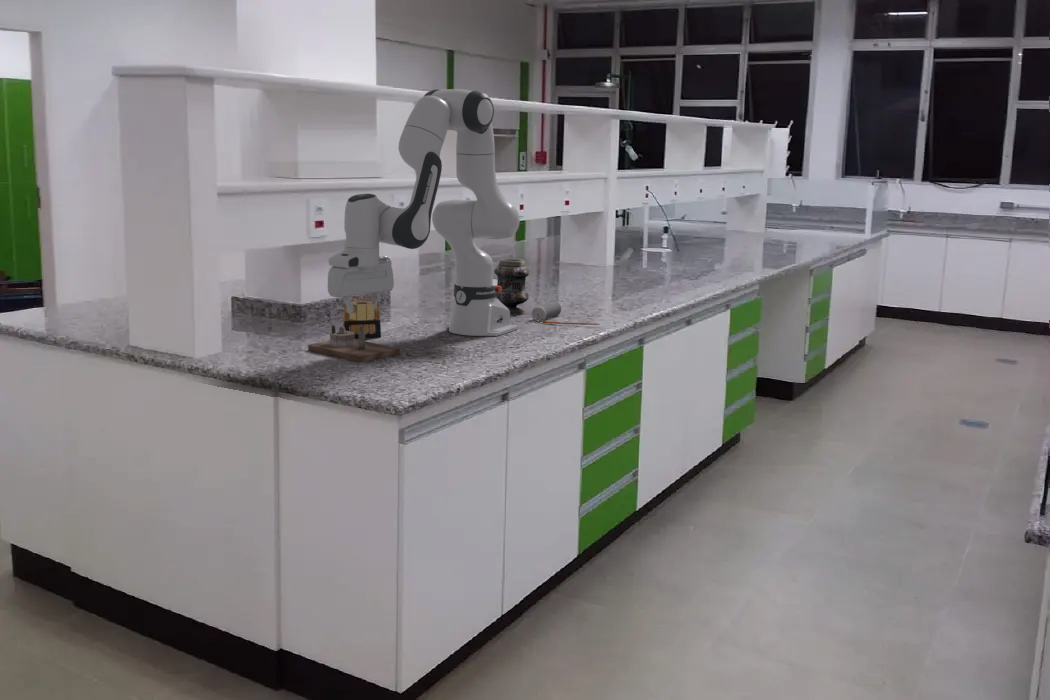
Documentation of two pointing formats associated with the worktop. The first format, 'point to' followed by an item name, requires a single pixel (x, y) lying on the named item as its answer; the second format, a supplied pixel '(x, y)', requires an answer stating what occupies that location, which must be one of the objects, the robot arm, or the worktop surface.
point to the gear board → (352, 346)
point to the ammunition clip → (363, 323)
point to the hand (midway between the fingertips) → (361, 311)
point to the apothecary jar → (512, 283)
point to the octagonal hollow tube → (363, 310)
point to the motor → (550, 313)
